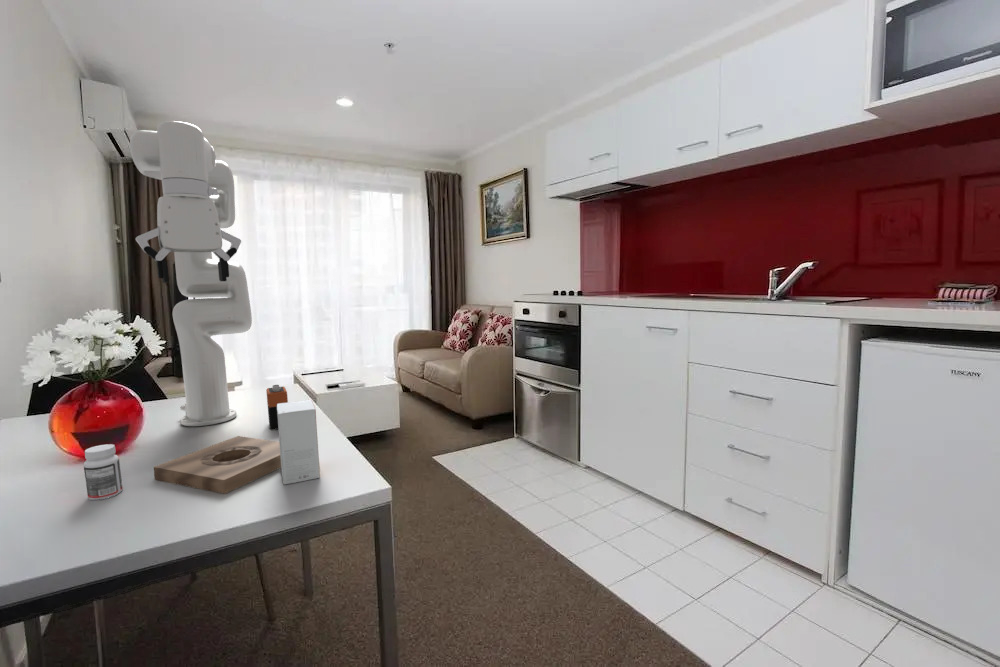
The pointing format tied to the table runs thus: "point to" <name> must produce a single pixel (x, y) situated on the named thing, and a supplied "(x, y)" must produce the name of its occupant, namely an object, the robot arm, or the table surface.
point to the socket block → (222, 465)
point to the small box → (298, 441)
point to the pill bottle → (102, 472)
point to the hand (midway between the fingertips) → (195, 281)
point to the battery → (275, 403)
